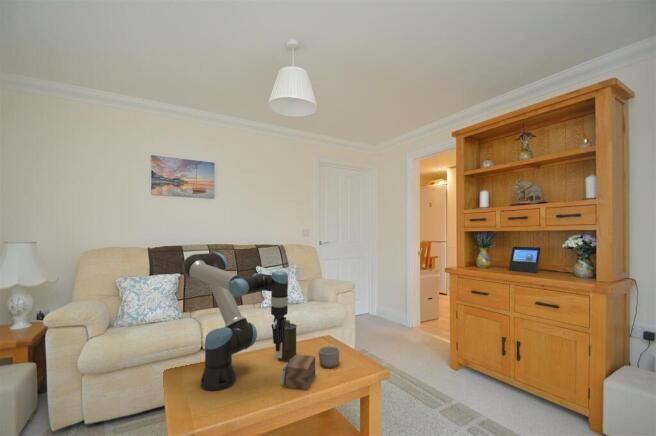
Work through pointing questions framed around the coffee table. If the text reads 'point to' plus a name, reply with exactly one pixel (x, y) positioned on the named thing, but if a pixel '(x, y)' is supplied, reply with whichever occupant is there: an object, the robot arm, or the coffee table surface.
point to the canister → (288, 342)
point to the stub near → (284, 375)
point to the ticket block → (300, 372)
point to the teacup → (329, 356)
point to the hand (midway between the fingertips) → (278, 357)
